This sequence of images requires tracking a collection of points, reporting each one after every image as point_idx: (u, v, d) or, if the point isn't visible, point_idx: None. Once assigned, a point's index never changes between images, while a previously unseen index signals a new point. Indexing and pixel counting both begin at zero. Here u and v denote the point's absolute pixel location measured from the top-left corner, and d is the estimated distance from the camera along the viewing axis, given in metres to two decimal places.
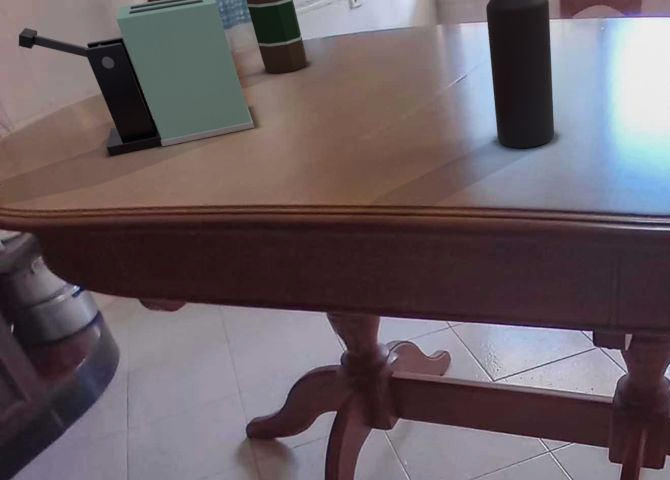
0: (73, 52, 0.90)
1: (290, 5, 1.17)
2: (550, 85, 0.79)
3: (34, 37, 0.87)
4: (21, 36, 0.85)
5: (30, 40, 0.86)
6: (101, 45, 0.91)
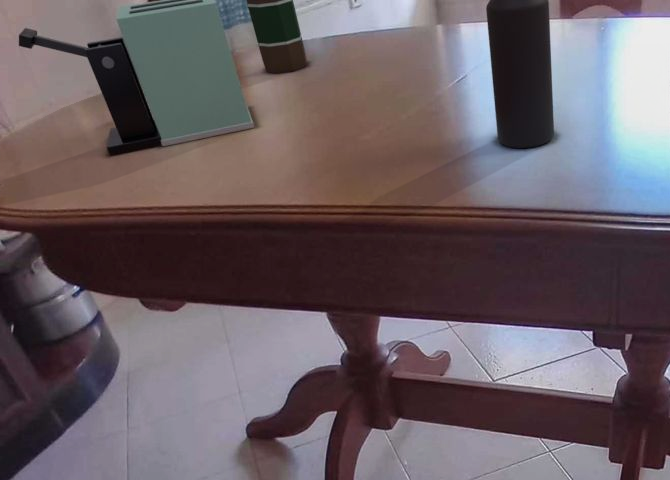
0: (73, 52, 0.90)
1: (290, 5, 1.17)
2: (550, 85, 0.79)
3: (34, 37, 0.87)
4: (21, 36, 0.85)
5: (30, 40, 0.86)
6: (101, 45, 0.91)
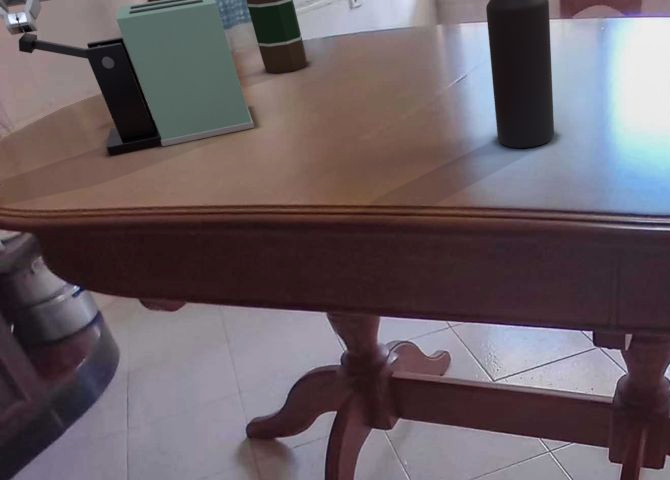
0: (73, 54, 0.90)
1: (290, 5, 1.17)
2: (550, 85, 0.79)
3: (34, 41, 0.88)
4: (21, 41, 0.86)
5: (30, 45, 0.86)
6: (100, 45, 0.91)
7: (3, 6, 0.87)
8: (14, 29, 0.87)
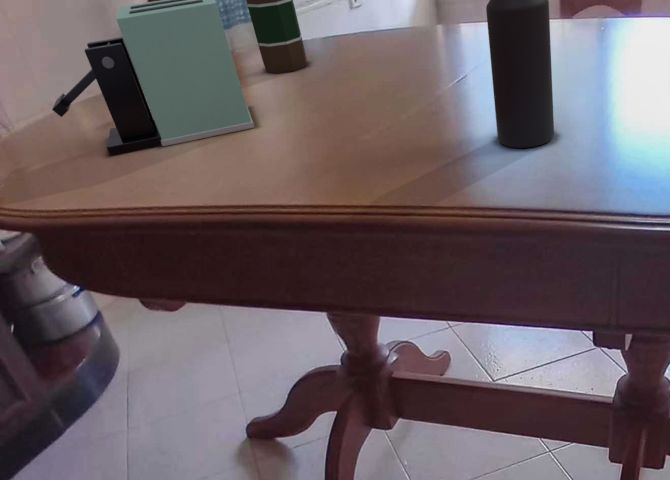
0: (89, 81, 0.92)
1: (290, 5, 1.17)
2: (550, 85, 0.79)
3: (62, 100, 0.92)
4: (54, 108, 0.91)
5: (60, 105, 0.91)
6: None
7: None
8: None
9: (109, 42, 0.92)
